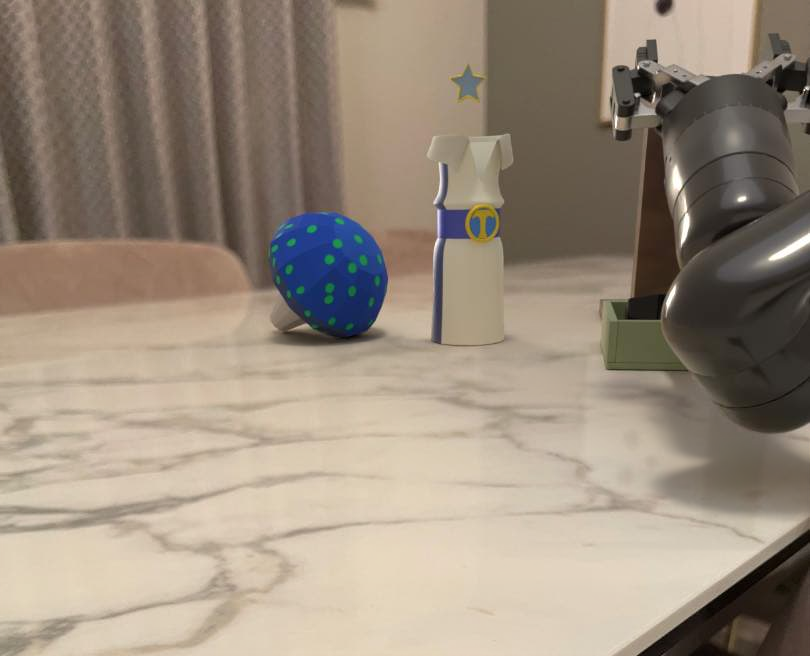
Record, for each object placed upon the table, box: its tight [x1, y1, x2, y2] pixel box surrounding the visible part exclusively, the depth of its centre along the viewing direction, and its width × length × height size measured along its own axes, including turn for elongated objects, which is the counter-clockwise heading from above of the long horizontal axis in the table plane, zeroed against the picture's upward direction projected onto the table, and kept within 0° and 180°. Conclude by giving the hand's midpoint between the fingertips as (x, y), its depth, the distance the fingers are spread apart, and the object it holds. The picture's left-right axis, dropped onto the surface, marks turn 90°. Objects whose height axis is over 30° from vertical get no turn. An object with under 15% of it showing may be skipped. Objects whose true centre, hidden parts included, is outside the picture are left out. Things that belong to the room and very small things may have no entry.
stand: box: [598, 86, 681, 321], centre depth 96 cm, size 12×8×24 cm, turn 80°
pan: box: [625, 294, 666, 320], centre depth 72 cm, size 8×17×3 cm, turn 170°
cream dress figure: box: [426, 62, 515, 346], centre depth 84 cm, size 8×8×25 cm
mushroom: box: [267, 211, 389, 339], centre depth 91 cm, size 14×14×15 cm
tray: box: [599, 301, 689, 371], centre depth 77 cm, size 11×13×4 cm
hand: (708, 49), depth 63 cm, fingers open, 8 cm apart
